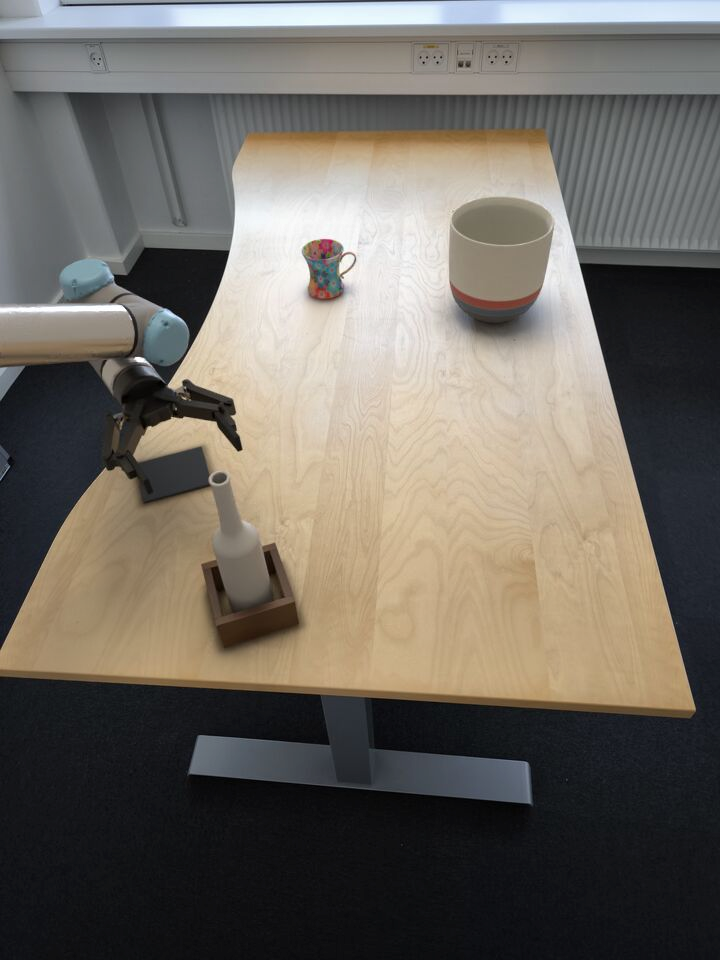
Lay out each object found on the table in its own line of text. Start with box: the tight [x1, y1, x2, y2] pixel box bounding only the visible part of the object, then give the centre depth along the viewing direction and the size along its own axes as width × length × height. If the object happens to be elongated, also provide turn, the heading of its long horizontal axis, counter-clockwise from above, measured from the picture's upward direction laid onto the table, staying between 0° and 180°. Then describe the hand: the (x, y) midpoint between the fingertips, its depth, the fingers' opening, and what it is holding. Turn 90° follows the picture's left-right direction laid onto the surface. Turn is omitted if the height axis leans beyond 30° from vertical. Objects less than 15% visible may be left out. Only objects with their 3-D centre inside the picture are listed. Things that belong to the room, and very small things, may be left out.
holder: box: [200, 542, 300, 649], centre depth 108 cm, size 11×11×6 cm
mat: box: [138, 446, 211, 504], centre depth 130 cm, size 12×10×1 cm
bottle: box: [209, 469, 276, 614], centre depth 100 cm, size 7×7×28 cm
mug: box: [301, 238, 357, 300], centre depth 165 cm, size 12×9×11 cm
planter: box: [448, 195, 556, 324], centre depth 152 cm, size 20×20×21 cm
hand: (194, 465), depth 100 cm, fingers open, 13 cm apart
